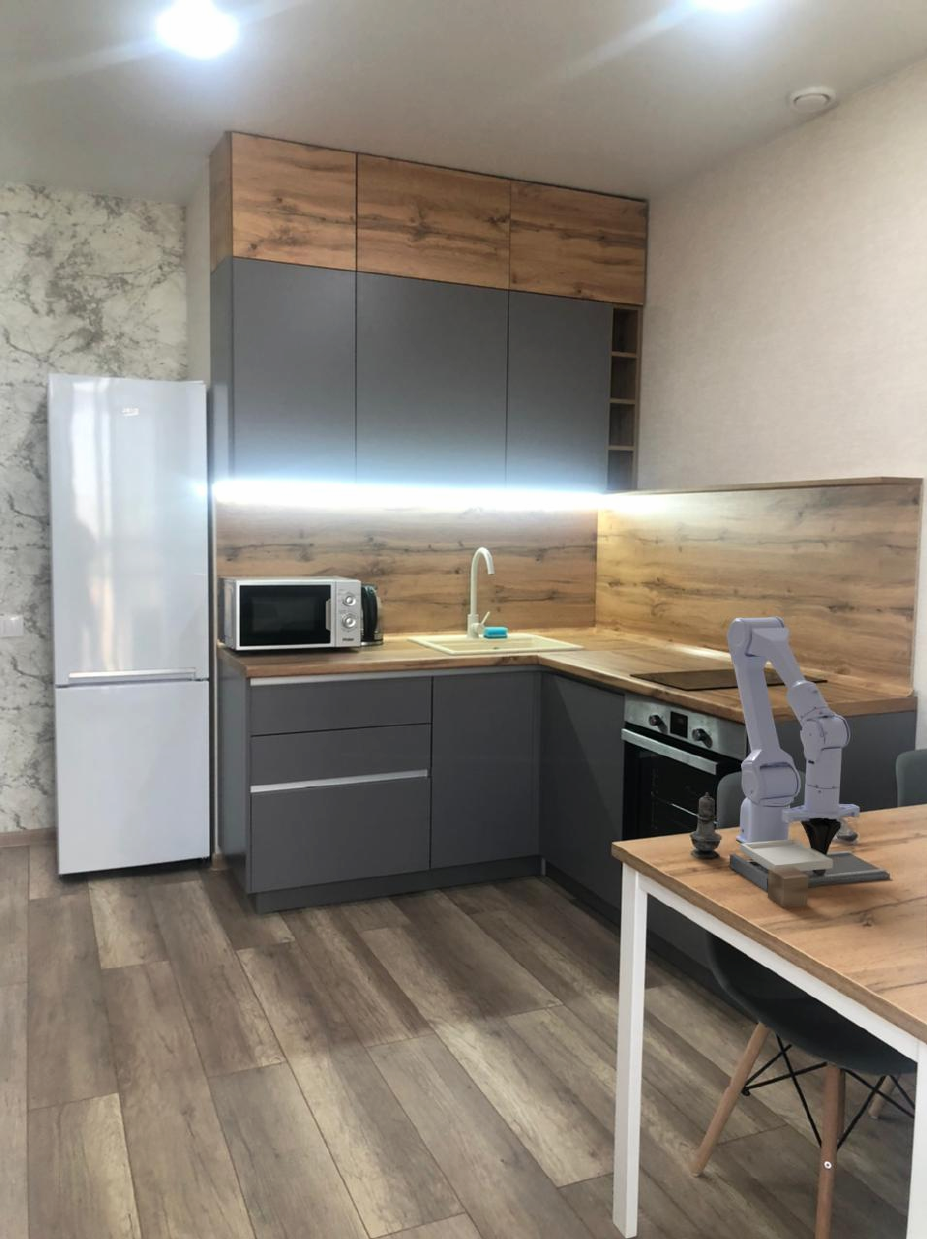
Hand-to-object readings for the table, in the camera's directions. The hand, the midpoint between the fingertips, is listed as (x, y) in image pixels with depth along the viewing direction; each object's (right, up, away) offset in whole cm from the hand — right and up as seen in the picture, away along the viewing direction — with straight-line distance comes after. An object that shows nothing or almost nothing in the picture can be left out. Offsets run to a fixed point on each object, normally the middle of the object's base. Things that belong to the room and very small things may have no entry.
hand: (818, 858), depth 178 cm
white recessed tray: (-7, -1, -2) cm, 7 cm away
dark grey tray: (-2, -2, 0) cm, 3 cm away
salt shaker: (-18, -2, +9) cm, 20 cm away
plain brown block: (-10, -4, -13) cm, 17 cm away
